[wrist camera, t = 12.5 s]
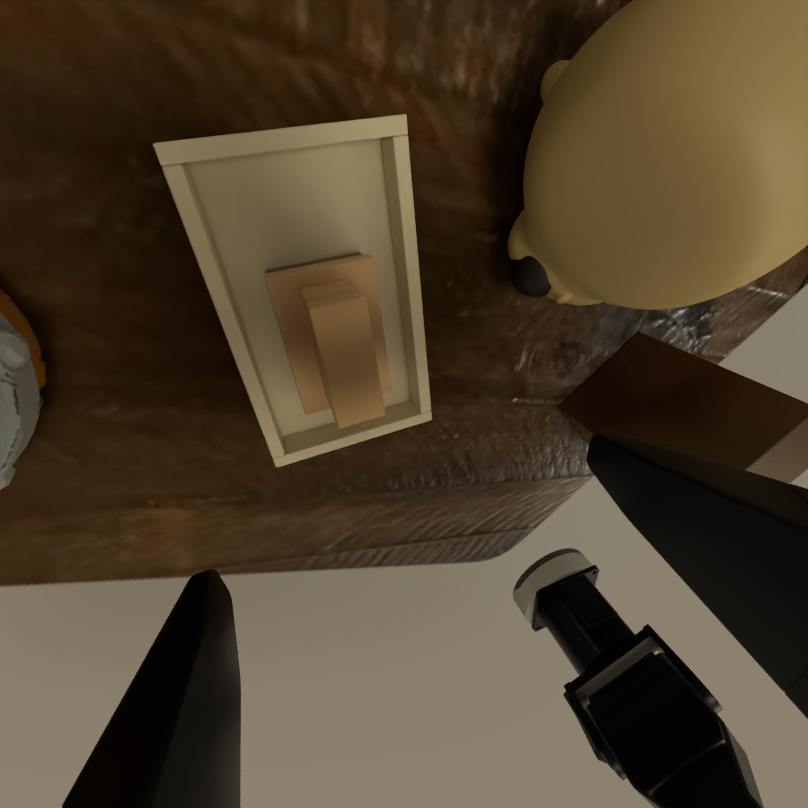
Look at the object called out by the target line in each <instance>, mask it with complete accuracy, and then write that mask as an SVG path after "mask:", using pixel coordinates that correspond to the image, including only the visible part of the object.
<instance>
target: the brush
mask: <svg viewBox="0 0 808 808" xmlns="http://www.w3.org/2000/svg"><path fill="white" fill-rule="evenodd" d="M265 273H266V274H264V279H265V283H266V286H267V290H268V293H269V296H270V300H271V303H272V306H273V310H274V313H275V316H276V320H277V323H278V326H279V330H280V333H281V336H282V340H283V343H284V346H285V350H286V353H287V356H288V360H289V363H290V366H291V370H292V373H293V376H294V380H295V383H296V386H297V390H298V393H299V396H300V400H301V403H302V406H303V410H304V413H305V415H309V414H312V413H316V412H319V411H323V410H326V409H330V408H331V411H332V414H333V416H334V419H335V421H336V424H337V426H338V428H339V429H340V428H344V427H347V426H351V425H354V424H357V423H361V422H364V421H367V420H371V419H374V418H378V417H381V416H384V415H385V408H384V401H383V395H382V394H383V393H386V392H390V391H392V384H391V377H390V370H389V363H388V356H387V349H386V343H385V336H384V329H383V322H382V315H381V308H380V302H379V295H378V288H377V281H376V274H375V267H374V260H373V257H371V256H370V255H369V254H362V253H360V252H356V253H351V254H346V255H341V256H336V257H330V258H325V259H320V260H315V261H310V262H305V263H300V264H295V265H290V266H284V267H279V268H274V269H269V270H266V271H265Z"/></svg>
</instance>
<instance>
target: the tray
mask: <svg viewBox="0 0 808 808" xmlns="http://www.w3.org/2000/svg"><path fill="white" fill-rule="evenodd" d="M407 134H408V128H407V116H406V114H401V115H392V116H384V117H375V118H366V119H358V120H349V121H340V122H332V123H323V124H314V125H305V126H297V127H288V128H279V129H271V130H262V131H253V132H245V133H236V134H227V135H219V136H210V137H201V138H192V139H184V140H175V141H166V142H158V143H153V147H154V149H155V152H156V155H157V157H158V160H159V162H160V165H161V166H163V167H162V170H163V173H164V175H165V178H166V180H167V183H168V186H169V188H170V191H171V194H172V196H173V199H174V201H175V204H176V207H177V209H178V212H179V215H180V217H181V220H182V222H183V225H184V228H185V230H186V233H187V236H188V238H189V241H190V243H191V246H192V249H193V251H194V254H195V257H196V259H197V262H198V264H199V267H200V270H201V272H202V275H203V277H204V280H205V283H206V285H207V288H208V291H209V293H210V296H211V298H212V301H213V304H214V306H215V309H216V312H217V314H218V317H219V319H220V322H221V325H222V327H223V330H224V333H225V335H226V338H227V340H228V343H229V346H230V348H231V351H232V353H233V356H234V359H235V361H236V364H237V367H238V369H239V372H240V374H241V377H242V380H243V382H244V385H245V388H246V390H247V393H248V395H249V398H250V401H251V403H252V406H253V409H254V411H255V414H256V416H257V419H258V422H259V424H260V427H261V430H262V432H263V435H264V437H265V440H266V443H267V445H268V448H269V450H270V453H271V456H272V457H273V461H274V464H275V466H276V467H280V466H284V465H287V464H290V463H293V462H297V461H300V460H303V459H306V458H310V457H313V456H316V455H319V454H323V453H326V452H329V451H332V450H336V449H339V448H342V447H345V446H349V445H352V444H355V443H358V442H362V441H365V440H368V439H371V438H375V437H378V436H381V435H384V434H388V433H391V432H394V431H397V430H401V429H404V428H407V427H410V426H414V425H417V424H420V423H423V422H427V421H430V420H432V414H431V402H430V390H429V378H428V367H427V355H426V343H425V331H424V319H423V308H422V296H421V284H420V272H419V261H418V249H417V237H416V225H415V213H414V202H413V190H412V178H411V166H410V155H409V143H408V136H407ZM356 252H360V253H362V254H369V255H370V256H371V257H373V260H374V267H375V274H376V281H377V288H378V295H379V302H380V308H381V315H382V322H383V329H384V336H385V343H386V349H387V356H388V363H389V370H390V377H391V384H392V391H390V392H386V393H383V394H382V395H383V401H384V408H385V415H384V416H381V417H378V418H374V419H371V420H367V421H364V422H361V423H357V424H354V425H351V426H347V427H344V428H340V429H339V428H338V426H337V424H336V421H335V419H334V416H333V414H332V411H331V408H330V409H326V410H323V411H319V412H316V413H312V414H309V415H305V413H304V410H303V406H302V403H301V400H300V396H299V393H298V390H297V386H296V383H295V380H294V376H293V373H292V370H291V366H290V363H289V360H288V356H287V353H286V350H285V346H284V343H283V340H282V336H281V333H280V330H279V326H278V323H277V320H276V316H275V313H274V310H273V306H272V303H271V300H270V296H269V293H268V290H267V286H266V283H265V279H264V274H266V273H265V271H266V270H269V269H274V268H279V267H284V266H290V265H295V264H300V263H305V262H310V261H315V260H320V259H325V258H330V257H336V256H341V255H346V254H351V253H356Z"/></svg>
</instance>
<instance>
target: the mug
mask: <svg viewBox="0 0 808 808" xmlns="http://www.w3.org/2000/svg"><path fill="white" fill-rule="evenodd" d="M46 383H47V381H46V369H45V362H44V361H43V359H42V358H41V348H40V345H39V342H38V340H37V338H36V336H35V334H34V332H33V330H32V328H31V326H30V324H29V322H28V320H27V318H26V316H25V315H24V314H23V313H22V311H21V310H20V309H19V308H18V307H17V305H16V304H15V303H14V302H13V301H12V299H11V298H10V297H9V296H8V295H7V293H6V292H4V291H3V290H2V289H1V288H0V490H1V489H2V488H4V487H6V486H7V485H9V483H10V481H11V479H12V477H13V475H14V473H15V471H16V470H15V468H14V467H13V464H14V463H15V461H16V460H17V459H18V457H19V456H20V454H21V453H22V452H23V450H24V449H25V448H26V446H27V445H28V443H29V441H30V439H31V437H32V435H33V433H34V430H35V427H36V424H37V420H38V417H39V412H40V409H41V407H42V405H43V403H44V398H43V396H42V394H41V393H39V391H40V390H41V389H42V388H43V386H44V385H45V384H46Z"/></svg>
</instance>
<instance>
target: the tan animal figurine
mask: <svg viewBox="0 0 808 808" xmlns="http://www.w3.org/2000/svg"><path fill="white" fill-rule="evenodd" d="M540 92H541V98H542V101H543V104H544V105H543V107H542V109H541V111H540V113H539V115H538V118H537V120H536V123H535V126H534V128H533V131H532V135H531V138H530V142H529V145H528V150H527V155H526V160H525V167H524V180H523V194H524V209H523V211H522V212H521V213H520V215H519V216H518V218H517V220H516V221H515V223H514V225H513V227H512V229H511V232H510V235H509V239H508V253H509V256H510V259H511V261H510V265H509V276H510V280H511V282H512V284H513V286H514V287H515V288H516V289H517V290H518V291H519V292H520V293H522V294H524V295H526V296H531V297H539V296H544V295H545V296H546V297H548V298H550V299H553V300H555V301H556V302H557V303H559V304H563V303H566V304H571V305H592V304H597V303H601V302H605V303H607V304H614V305H618V306H622V307H628V308H634V309H646V310H661V309H672V308H679V307H684V306H689V305H693V304H697V303H700V302H704V301H707V300H710V299H713V298H715V297H718V296H721V295H723V294H726V293H728V292H730V291H733V290H735V289H737V288H739V287H741V286H743V285H746V284H748V283H750V282H752V281H753V280H755V279H757V278H759V277H761V276H763V275H764V274H766V273H768V272H770V271H771V270H773V269H775V268H776V267H778V266H779V265H781V264H782V263H784V262H785V261H787V260H788V259H790V258H791V257H792V256H794V255H795V254H797V253H798V252H799V251H800V250H802V249H803V248H804V247H806V246H807V245H808V0H632V1H631V2H630V3H628V4H627V5H626V6H624V7H623V8H622V9H620V10H619V11H618V12H617V13H615V14H614V15H613V16H612V17H611V18H609V19H608V20H607V21H606V22H605V23H604V24H603V25H602V26H601V27H600V28H599V29H598V30H597V31H596V32H595V33H594V34H593V35H592V36H591V37H590V38H589V39H588V40H587V41H586V42H585V43H584V44H583V46H582V47H581V48H580V49H579V50H578V52H577V53H576V54H575V55H574V57H573V58H572V59H571V61H570V60H561V61H558V62H556V63H554V64H553V65H552V66H550V67H549V69H548V70H547V71H546V73H545V74H544V76H543V79H542V82H541V87H540Z"/></svg>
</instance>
